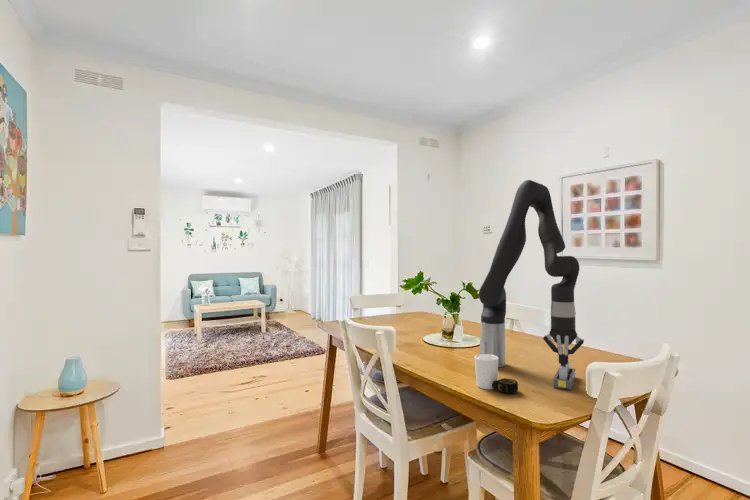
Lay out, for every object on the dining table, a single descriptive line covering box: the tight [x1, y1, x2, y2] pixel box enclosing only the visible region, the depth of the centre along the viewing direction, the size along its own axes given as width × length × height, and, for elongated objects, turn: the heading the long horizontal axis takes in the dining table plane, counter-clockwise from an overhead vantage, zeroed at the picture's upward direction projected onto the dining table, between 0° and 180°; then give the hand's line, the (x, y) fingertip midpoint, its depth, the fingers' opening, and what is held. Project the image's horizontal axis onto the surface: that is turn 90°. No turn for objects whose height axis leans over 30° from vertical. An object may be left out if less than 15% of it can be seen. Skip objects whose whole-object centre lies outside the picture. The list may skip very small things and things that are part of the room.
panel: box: [558, 364, 568, 381], centre depth 131 cm, size 5×2×6 cm, turn 149°
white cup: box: [473, 353, 499, 390], centre depth 131 cm, size 8×8×10 cm
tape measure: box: [492, 377, 519, 394], centre depth 126 cm, size 7×7×4 cm
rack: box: [553, 361, 576, 392], centre depth 133 cm, size 16×5×6 cm, turn 148°
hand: (563, 365), depth 130 cm, fingers closed
